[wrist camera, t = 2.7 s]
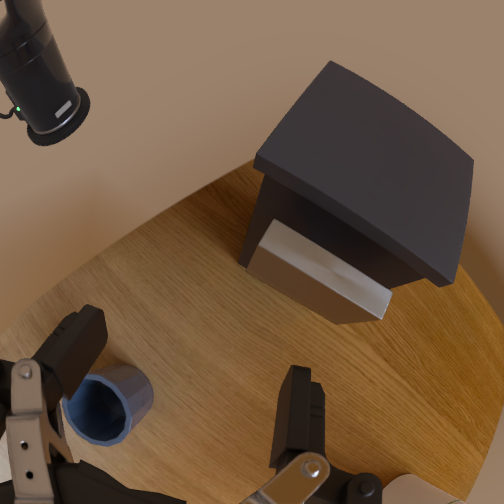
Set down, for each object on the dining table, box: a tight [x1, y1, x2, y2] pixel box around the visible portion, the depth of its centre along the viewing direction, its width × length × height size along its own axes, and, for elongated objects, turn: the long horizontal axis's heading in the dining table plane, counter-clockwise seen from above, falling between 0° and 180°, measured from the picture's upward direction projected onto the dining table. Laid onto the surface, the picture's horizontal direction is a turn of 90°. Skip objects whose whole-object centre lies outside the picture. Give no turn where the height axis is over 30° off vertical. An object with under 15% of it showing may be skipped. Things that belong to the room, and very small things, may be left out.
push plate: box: [246, 219, 393, 325], centre depth 16 cm, size 2×7×6 cm, turn 60°
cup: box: [62, 364, 154, 447], centre depth 23 cm, size 6×6×9 cm
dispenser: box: [238, 61, 474, 289], centre depth 23 cm, size 11×11×21 cm
